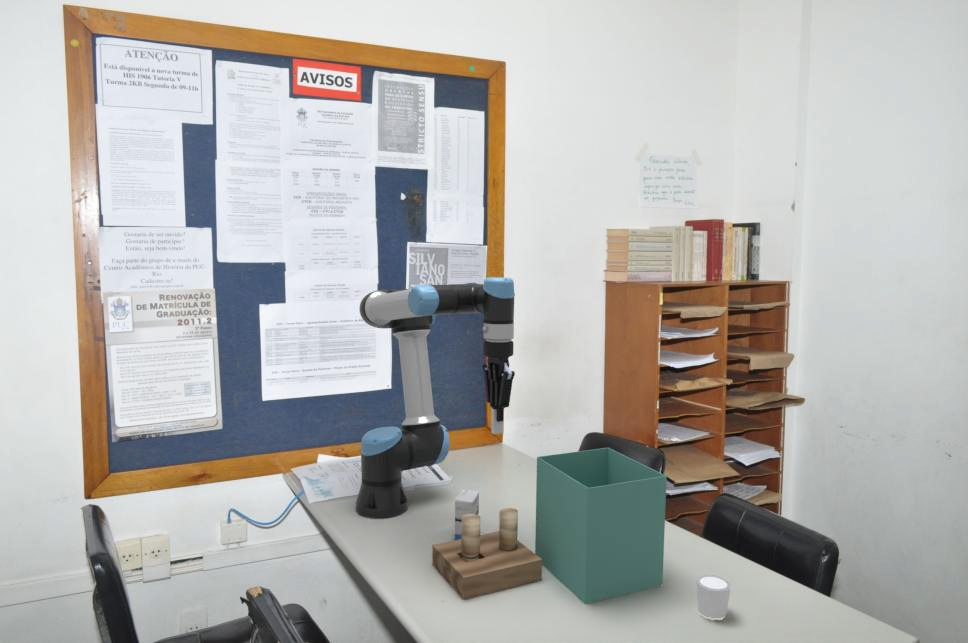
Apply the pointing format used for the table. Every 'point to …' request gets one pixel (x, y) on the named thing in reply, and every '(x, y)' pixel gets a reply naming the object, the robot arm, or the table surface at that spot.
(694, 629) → the table surface
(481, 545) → the seat board
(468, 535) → the beech leg
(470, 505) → the ink box
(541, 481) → the box
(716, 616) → the light grey short cylinder
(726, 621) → the table surface
